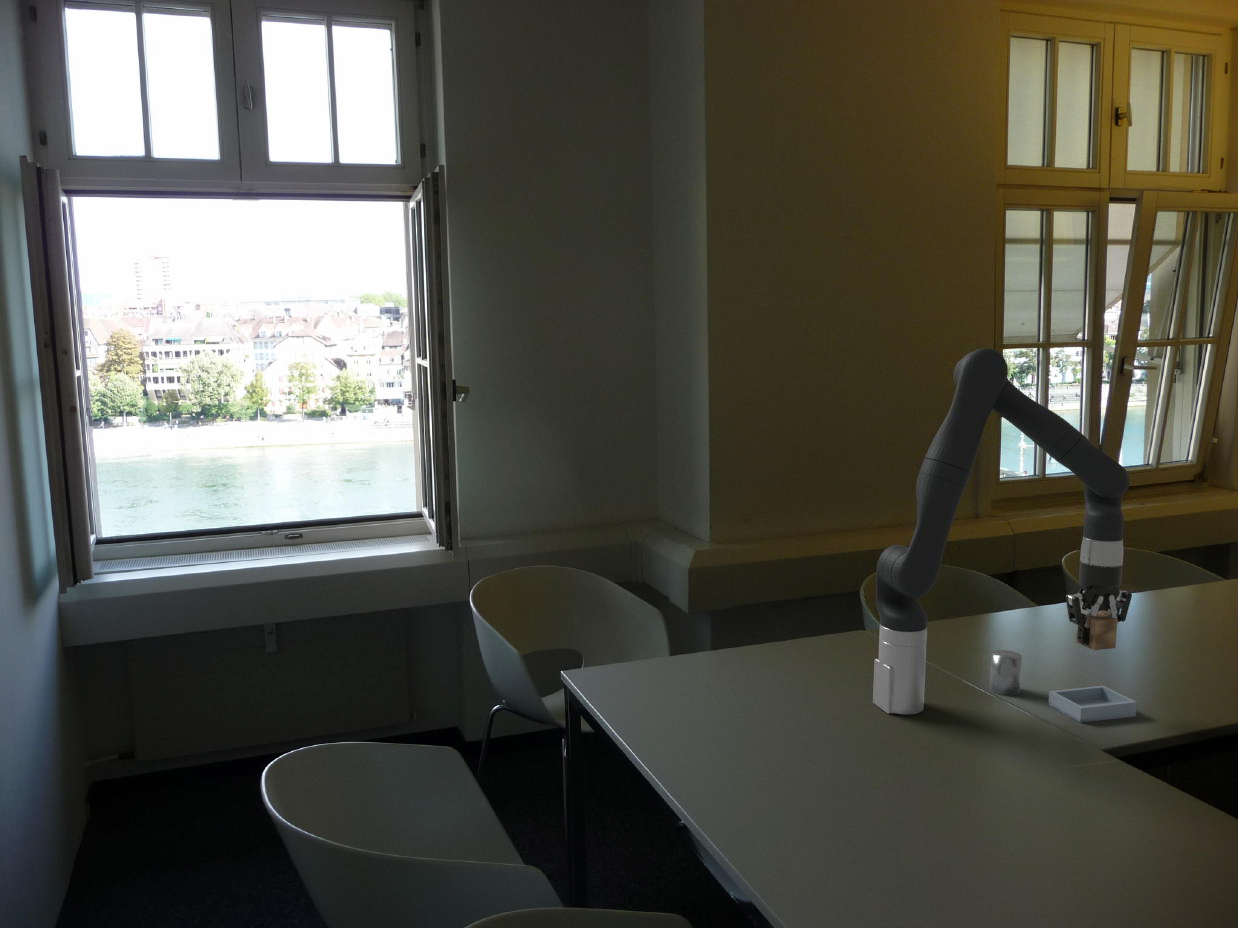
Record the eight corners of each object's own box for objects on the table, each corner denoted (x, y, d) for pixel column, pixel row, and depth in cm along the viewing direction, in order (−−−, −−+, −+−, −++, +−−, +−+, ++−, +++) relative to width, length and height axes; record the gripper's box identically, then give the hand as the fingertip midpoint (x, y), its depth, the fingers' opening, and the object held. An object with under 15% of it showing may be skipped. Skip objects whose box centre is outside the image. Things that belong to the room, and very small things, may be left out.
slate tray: (1080, 722, 186) (1081, 708, 186) (1048, 705, 195) (1049, 691, 194) (1135, 716, 189) (1137, 701, 189) (1102, 699, 198) (1103, 685, 198)
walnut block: (1094, 650, 187) (1095, 620, 186) (1076, 642, 192) (1078, 613, 191) (1115, 647, 188) (1117, 618, 188) (1097, 640, 193) (1099, 611, 192)
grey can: (1001, 696, 200) (1003, 660, 198) (983, 686, 205) (985, 651, 204) (1026, 694, 201) (1028, 657, 200) (1008, 684, 207) (1009, 648, 206)
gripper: (1083, 567, 183) (1078, 652, 185) (1146, 562, 186) (1140, 646, 188) (1057, 558, 190) (1052, 640, 192) (1117, 553, 193) (1112, 634, 195)
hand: (1095, 642), depth 190 cm, fingers closed on walnut block, 5 cm apart
